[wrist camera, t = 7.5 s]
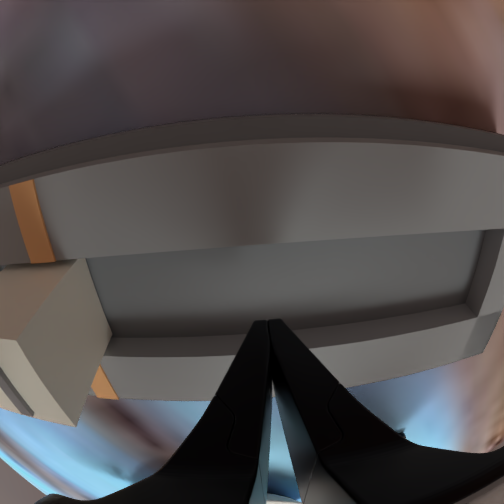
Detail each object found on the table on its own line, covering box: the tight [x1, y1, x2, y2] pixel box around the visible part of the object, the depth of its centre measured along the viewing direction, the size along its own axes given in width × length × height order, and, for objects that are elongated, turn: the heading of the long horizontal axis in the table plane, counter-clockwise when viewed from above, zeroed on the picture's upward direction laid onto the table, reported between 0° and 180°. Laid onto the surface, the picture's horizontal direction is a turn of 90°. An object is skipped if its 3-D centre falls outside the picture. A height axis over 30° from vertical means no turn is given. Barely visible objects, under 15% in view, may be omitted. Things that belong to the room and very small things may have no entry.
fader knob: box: [0, 258, 112, 427], centre depth 9 cm, size 4×4×5 cm
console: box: [0, 114, 504, 401], centre depth 12 cm, size 12×26×3 cm, turn 93°
